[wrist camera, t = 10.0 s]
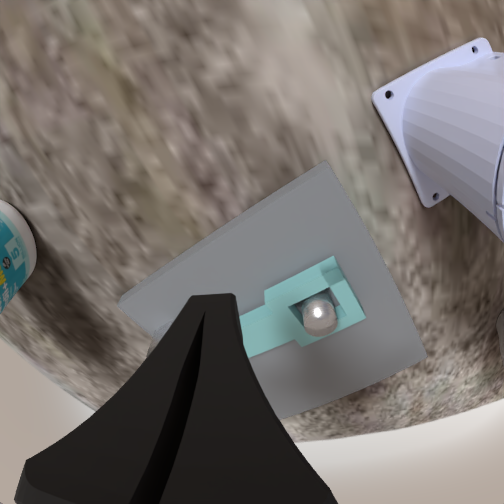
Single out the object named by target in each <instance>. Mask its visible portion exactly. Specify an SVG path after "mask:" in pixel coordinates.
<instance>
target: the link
mask: <svg viewBox="0 0 504 504" xmlns="http://www.w3.org/2000/svg"><path fill="white" fill-rule="evenodd" d="M328 287H330V289H331V290H332V292H333V293H334V295H335V297H336V298H337V300H338V301H339V303H340V305H339V306H337V307H335V308H334V309H335V313H336V317H337V321H338V325H337V327H336V329H335V330H334V331H333V332H332V333H330V334H328V335H326V336H322V337H315V336H311V335H309V334H308V333H307V332H306V331H305V328H304V322H303V316H302V314H301V313H300V312H299V310H298V309H297V308H296V306H295V305H294V304H295V303H297V302H299V301H301V300H303V299H305V298H308V297H310V296H312V295H314V294H316V293H318V292H320V291H322V290H324V289H326V288H328ZM264 296H265V305H263V306H261V307H259V308H256V309H254V310H252V311H250V312H248V313H246V314H244V315H241V316H239V318H240V323H241V329H242V334H243V345H244V348H245V351H246V353H247V356H248V358H250V357H252V356H255V355H258V354H260V353H263V352H265V351H268V350H270V349H273V348H275V347H277V346H280V345H282V344H285V343H287V342H289V341H292V340H294V339H295V340H296V341H297V342H298V343H299V345H300V346H301V347H303V346H306V345H308V344H310V343H313V342H315V341H317V340H320V339H322V338H324V337H327V336H329V335H331V334H333V333H336V332H338V331H340V330H342V329H344V328H347V327H349V326H351V325H353V324H355V323H357V322H359V321H361V320H363V319H366V316H365V313H364V310H363V307H362V305H361V303H360V301H359V299H358V298H357V296H356V294H355V292H354V290H353V289H352V287H351V285H350V283H349V281H348V280H347V278H346V276H345V274H344V273H343V271H342V269H341V267H340V266H339V264H338V262H337V260H336V259H335V257H334V256H332V257H330V258H328V259H326V260H324V261H322V262H320V263H318V264H316V265H314V266H312V267H310V268H308V269H307V270H305V271H303V272H301V273H299V274H297V275H295V276H293V277H291V278H289V279H287V280H285V281H283V282H281V283H279V284H277V285H275V286H273V287H271V288H269V289H267V290H265V291H264Z"/></svg>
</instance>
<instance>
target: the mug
mask: <svg viewBox="0 0 504 504" xmlns="http://www.w3.org/2000/svg"><path fill="white" fill-rule="evenodd" d="M496 328H497V331H498V336H499V346H500V353H501V358H502V362H503V366H504V309H503V310H502V312H501V313H500V315H499V317H498V319H497V323H496Z"/></svg>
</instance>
